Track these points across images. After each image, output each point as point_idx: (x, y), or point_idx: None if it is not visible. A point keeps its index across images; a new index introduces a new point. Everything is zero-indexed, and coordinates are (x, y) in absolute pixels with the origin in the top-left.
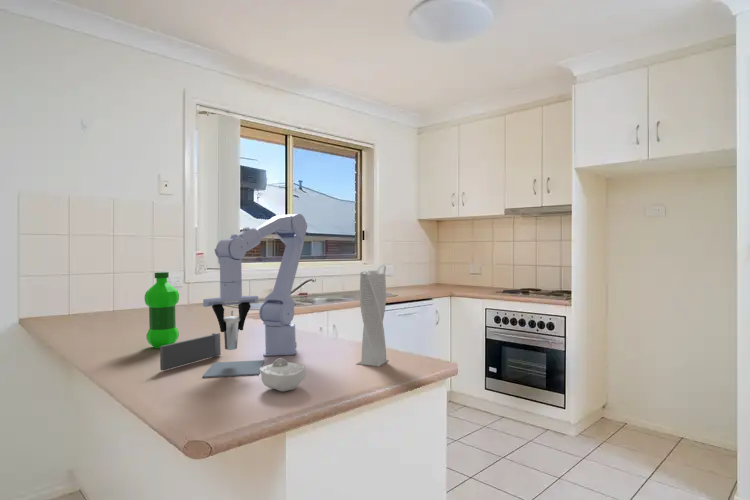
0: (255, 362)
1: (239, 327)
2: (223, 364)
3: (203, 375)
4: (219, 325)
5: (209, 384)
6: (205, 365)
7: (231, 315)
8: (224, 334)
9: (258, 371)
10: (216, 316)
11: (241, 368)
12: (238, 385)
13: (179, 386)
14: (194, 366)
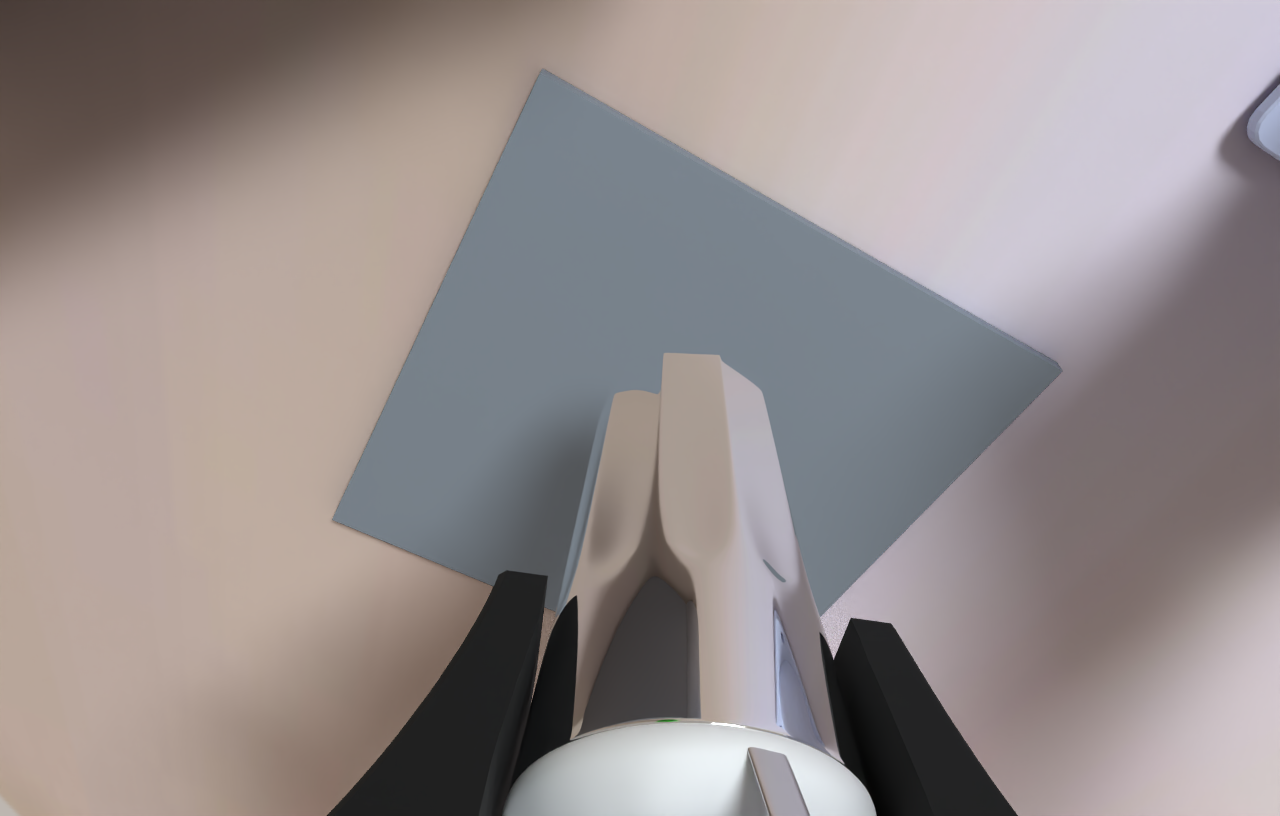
0: (928, 400)
1: (845, 677)
2: (611, 256)
3: (344, 503)
4: (464, 641)
5: (369, 663)
6: (430, 65)
7: (773, 800)
8: (562, 587)
9: None
10: (342, 803)
11: None
12: None
13: (160, 591)
14: (292, 17)
